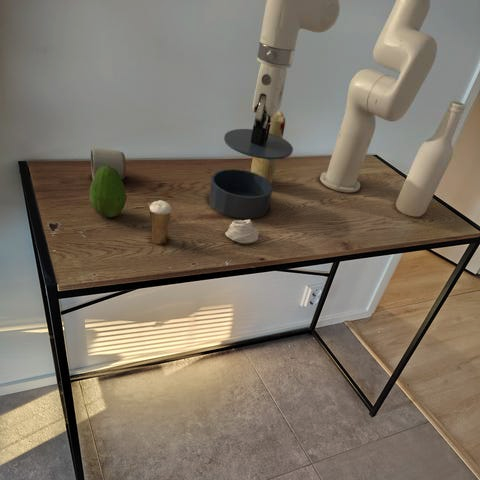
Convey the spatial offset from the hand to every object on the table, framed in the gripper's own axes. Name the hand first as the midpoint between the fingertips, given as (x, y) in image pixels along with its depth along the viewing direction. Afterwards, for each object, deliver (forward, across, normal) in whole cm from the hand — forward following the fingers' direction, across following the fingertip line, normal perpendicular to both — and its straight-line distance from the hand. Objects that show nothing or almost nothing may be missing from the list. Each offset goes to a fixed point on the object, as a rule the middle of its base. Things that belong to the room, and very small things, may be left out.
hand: (259, 141), depth 105 cm
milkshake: (+17, -27, +13) cm, 35 cm away
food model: (+17, +16, 0) cm, 23 cm away
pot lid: (+1, 0, 0) cm, 1 cm away
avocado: (+17, -23, +27) cm, 40 cm away
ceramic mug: (+17, -6, +37) cm, 42 cm away
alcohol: (+17, +25, -44) cm, 53 cm away
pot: (+17, 0, +2) cm, 17 cm away
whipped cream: (+17, -16, -3) cm, 24 cm away
